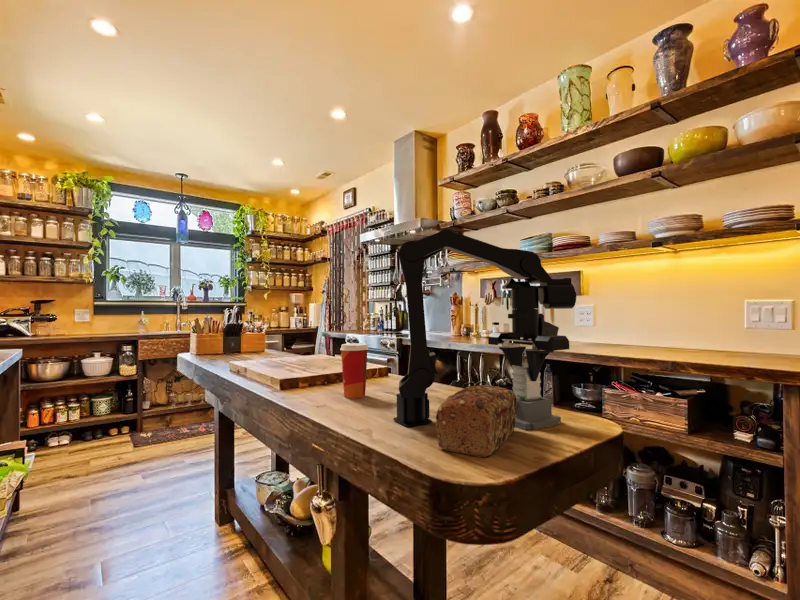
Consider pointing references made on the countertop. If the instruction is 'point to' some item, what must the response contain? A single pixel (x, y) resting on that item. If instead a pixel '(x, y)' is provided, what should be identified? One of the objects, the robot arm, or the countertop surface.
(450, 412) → the bread
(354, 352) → the coffee cup
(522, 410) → the stand base
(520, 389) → the column
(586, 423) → the countertop surface
